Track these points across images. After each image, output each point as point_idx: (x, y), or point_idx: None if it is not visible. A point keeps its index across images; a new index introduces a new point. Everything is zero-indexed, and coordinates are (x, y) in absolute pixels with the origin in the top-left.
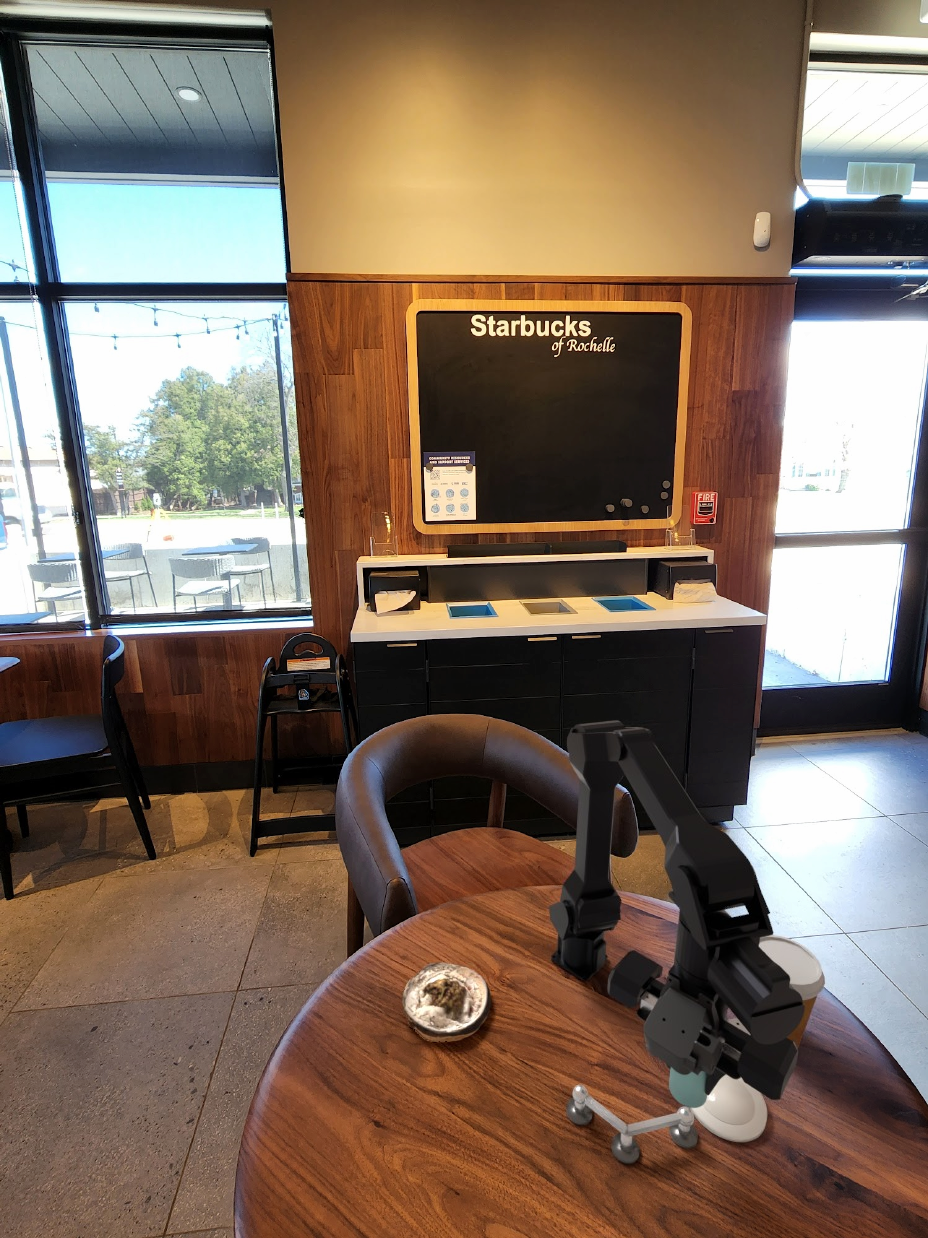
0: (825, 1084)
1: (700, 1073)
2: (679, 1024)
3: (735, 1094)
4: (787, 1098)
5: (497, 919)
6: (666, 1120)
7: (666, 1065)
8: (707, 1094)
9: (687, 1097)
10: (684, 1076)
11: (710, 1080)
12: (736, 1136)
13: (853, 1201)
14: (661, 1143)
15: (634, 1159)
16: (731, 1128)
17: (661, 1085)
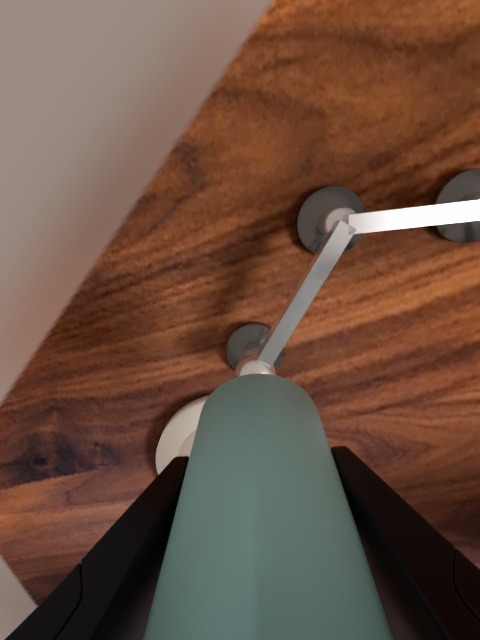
0: None
1: (175, 542)
2: None
3: None
4: None
5: None
6: (281, 329)
7: (350, 452)
8: (177, 459)
9: (229, 402)
10: (246, 468)
11: (132, 536)
12: (176, 417)
13: (14, 455)
14: (277, 300)
15: (300, 213)
16: (192, 424)
17: (341, 404)
